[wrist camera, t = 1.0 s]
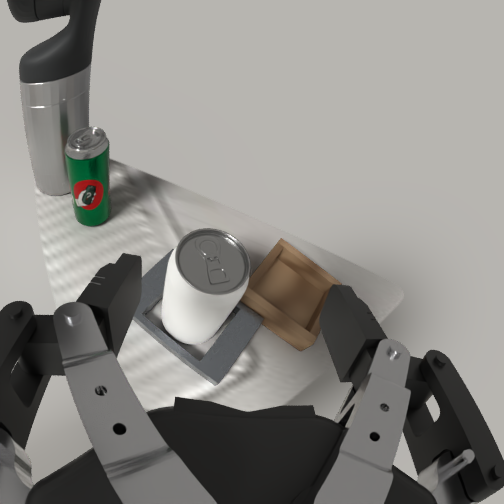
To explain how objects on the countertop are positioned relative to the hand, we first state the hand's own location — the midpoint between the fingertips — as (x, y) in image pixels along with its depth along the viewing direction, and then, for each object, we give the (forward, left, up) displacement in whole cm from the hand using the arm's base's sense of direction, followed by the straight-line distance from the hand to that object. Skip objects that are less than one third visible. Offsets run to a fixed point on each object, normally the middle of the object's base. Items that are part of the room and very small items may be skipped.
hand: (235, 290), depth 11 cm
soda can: (-21, +7, -19) cm, 30 cm away
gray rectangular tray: (-3, +5, -19) cm, 20 cm away
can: (-3, +5, -19) cm, 20 cm away
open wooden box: (+5, +15, -19) cm, 24 cm away
